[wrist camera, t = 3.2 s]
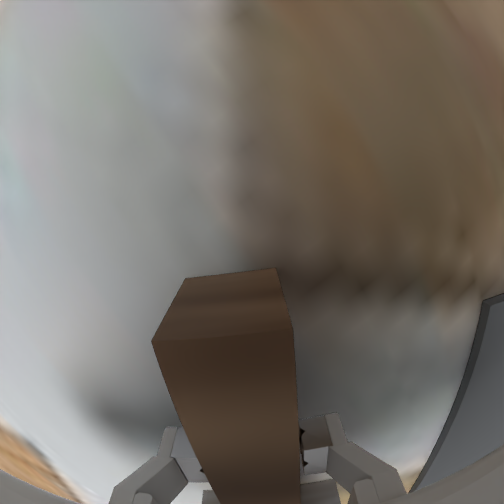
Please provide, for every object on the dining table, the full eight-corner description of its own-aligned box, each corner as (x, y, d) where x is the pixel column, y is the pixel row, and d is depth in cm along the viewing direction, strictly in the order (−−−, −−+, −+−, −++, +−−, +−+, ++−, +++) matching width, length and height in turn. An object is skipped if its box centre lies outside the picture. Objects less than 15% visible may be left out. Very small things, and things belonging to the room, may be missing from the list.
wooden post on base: (120, 284, 10) (-27, 449, 2) (348, 257, 10) (516, 430, 2) (207, 496, 14) (198, 596, 6) (333, 484, 14) (356, 585, 6)
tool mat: (483, 300, 10) (490, 305, 10) (585, 259, 10) (590, 261, 9) (393, 515, 16) (394, 519, 16) (498, 463, 16) (500, 466, 16)
